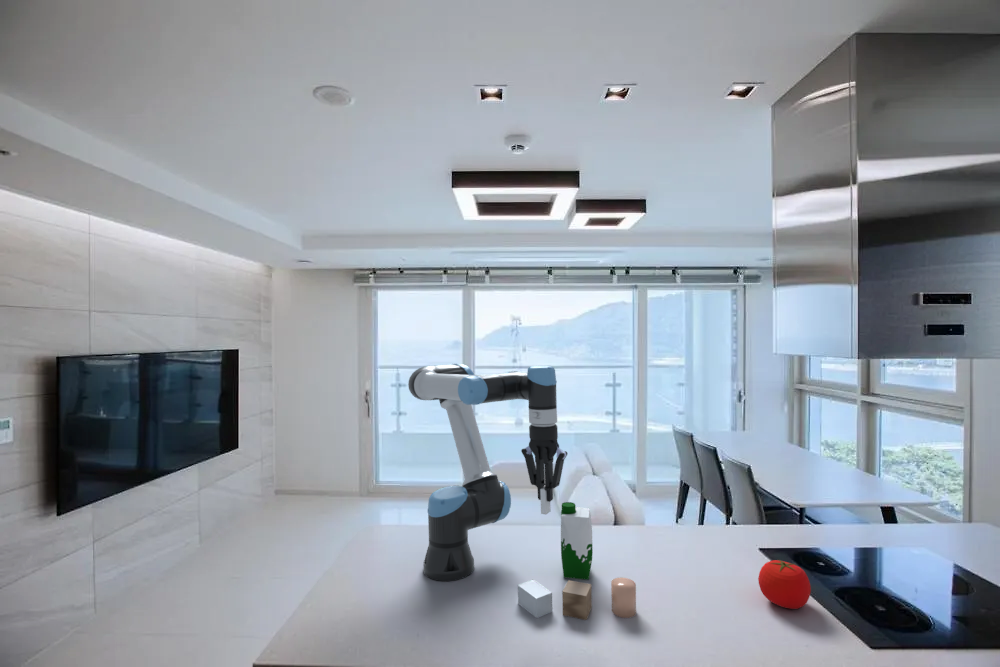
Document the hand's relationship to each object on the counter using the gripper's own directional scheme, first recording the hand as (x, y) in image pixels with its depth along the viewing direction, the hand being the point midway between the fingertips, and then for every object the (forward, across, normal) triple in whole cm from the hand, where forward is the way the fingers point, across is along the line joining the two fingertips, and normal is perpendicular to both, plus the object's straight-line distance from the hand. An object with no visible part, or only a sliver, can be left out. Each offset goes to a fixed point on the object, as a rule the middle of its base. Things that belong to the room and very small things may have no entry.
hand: (545, 512), depth 133 cm
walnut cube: (+23, +9, -2) cm, 25 cm away
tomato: (+24, +53, +28) cm, 65 cm away
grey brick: (+23, -1, -6) cm, 24 cm away
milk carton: (+23, +1, +16) cm, 28 cm away
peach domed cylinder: (+23, +19, +4) cm, 30 cm away
